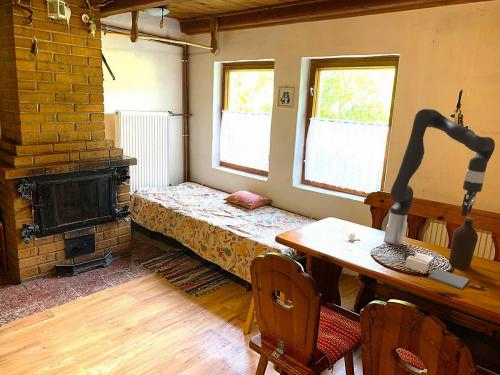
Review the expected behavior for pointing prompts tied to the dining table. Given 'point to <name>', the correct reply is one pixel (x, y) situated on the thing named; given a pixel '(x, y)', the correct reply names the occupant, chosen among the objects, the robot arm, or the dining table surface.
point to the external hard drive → (424, 257)
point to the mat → (449, 278)
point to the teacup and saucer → (353, 238)
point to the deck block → (417, 263)
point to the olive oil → (463, 245)
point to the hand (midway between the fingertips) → (466, 214)
